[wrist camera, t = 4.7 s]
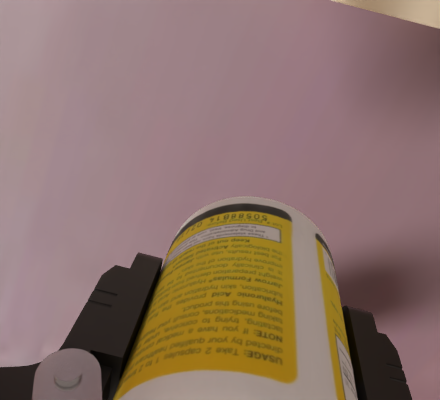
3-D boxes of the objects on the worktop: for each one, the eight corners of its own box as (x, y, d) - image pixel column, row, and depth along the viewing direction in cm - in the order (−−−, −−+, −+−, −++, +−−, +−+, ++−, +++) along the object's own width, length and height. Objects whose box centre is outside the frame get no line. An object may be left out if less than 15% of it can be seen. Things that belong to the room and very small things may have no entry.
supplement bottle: (142, 264, 15) (-41, 666, 6) (237, 157, 12) (148, 582, 4) (259, 341, 16) (237, 769, 7) (368, 258, 13) (520, 755, 5)
